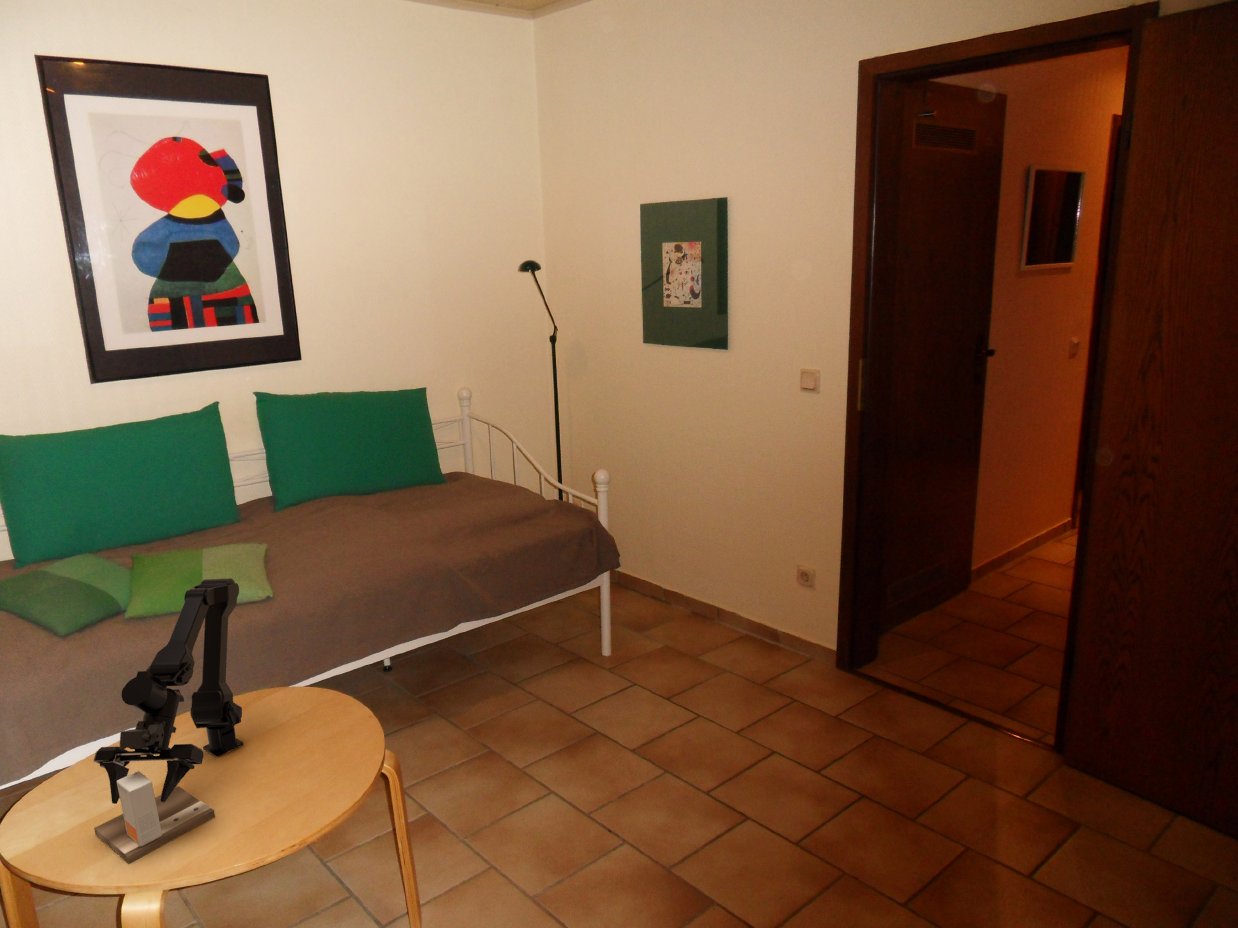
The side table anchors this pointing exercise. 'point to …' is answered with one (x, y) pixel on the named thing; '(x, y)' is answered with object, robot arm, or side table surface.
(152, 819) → the skincare box
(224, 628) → the robot arm
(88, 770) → the side table surface
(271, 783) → the side table surface
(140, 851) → the bent metal bracket plate
